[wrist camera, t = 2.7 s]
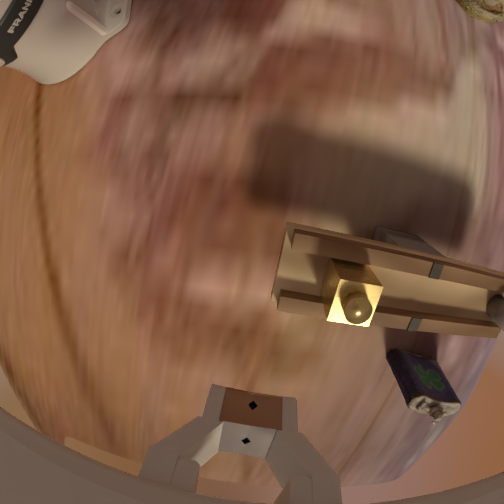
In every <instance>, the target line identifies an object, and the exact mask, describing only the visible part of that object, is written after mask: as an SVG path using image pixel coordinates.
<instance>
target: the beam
mask: <svg viewBox="0 0 504 504" xmlns="http://www.w3.org/2000/svg"><path fill="white" fill-rule="evenodd" d="M330 257H331V258H336V259H341V260H346V261H351V262H356V263H361V264H366V265H369V267H370V268H371V269H372V271H373V272H374V274H375V275H376V277H377V278H378V280H379V281H380V282H381V284H382V285H383V290H382V293H381V295H380V298H379V301H378V303H377V306H376V309H375V311H374V314H373V316H372V319H371V321H370V324H369V325H373V326H381V327H389V328H397V329H405V330H407V331H414V332H417V331H423V332H432V333H442V334H453V335H464V336H476V337H490V338H497V336H498V334H499V332H500V330H501V329H502V330H503V331H504V273H503V272H500V271H496V270H492V269H489V268H485V267H481V266H477V265H474V264H470V263H466V262H462V261H458V260H454V259H450V258H447V257H445V256H444V255H442V254H441V253H440V252H438V251H437V250H436V249H434V248H433V247H432V246H430V245H429V244H428V243H426V242H425V241H424V240H422V239H421V238H419V237H418V236H416V235H412V234H408V233H404V232H400V231H396V230H392V229H388V228H384V227H380V226H376V230H375V233H374V237H373V240H371V239H366V238H362V237H357V236H353V235H348V234H343V233H339V232H334V231H329V230H324V229H320V228H315V227H310V226H305V225H300V224H295V223H290V222H287V223H286V228H285V233H284V237H283V242H282V247H281V251H280V256H279V261H278V265H277V270H276V274H275V279H274V283H273V288H272V292H271V302H277V310H278V311H283V312H289V313H295V314H301V315H307V316H313V317H319V318H325V319H326V315H325V311H324V307H323V303H322V299H321V295H320V290H321V287H322V283H323V280H324V276H325V273H326V269H327V266H328V262H329V258H330Z"/></svg>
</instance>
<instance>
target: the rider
mask: <svg viewBox="0 0 504 504" xmlns="http://www.w3.org/2000/svg"><path fill="white" fill-rule="evenodd" d="M382 290H383V285H382V284H381V282H380V281H379V280H378V278H377V277H376V275H375V274H374V272H373V271H372V269H371V268H370V267H369V265H366V264H361V263H356V262H351V261H346V260H341V259H336V258H331V257H330V258H329V262H328V266H327V269H326V273H325V276H324V280H323V283H322V287H321V290H320V295H321V299H322V303H323V307H324V311H325V315H326V319H327V321H333V322H340V323H347V324H354V325H361V326H369V324H370V321H371V319H372V316H373V314H374V311H375V309H376V306H377V303H378V301H379V298H380V295H381V293H382Z"/></svg>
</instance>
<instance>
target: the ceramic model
mask: <svg viewBox="0 0 504 504" xmlns="http://www.w3.org/2000/svg"><path fill="white" fill-rule="evenodd" d="M456 1H457V3H458V4H459V5H460V6H461V8H462V9H463V10H464V11H465V12H466V13H468V14H469V15H470V16H472V17H474V18H477V19H479V20H482V21H485V22H496V21H497V22H499V21H502V20H504V13H503V11H504V7H503V4H504V0H456Z"/></svg>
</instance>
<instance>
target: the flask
mask: <svg viewBox="0 0 504 504" xmlns="http://www.w3.org/2000/svg"><path fill="white" fill-rule="evenodd" d="M386 359H387V361H388V363H389V365H390V367H391V369H392V372H393V374H394V376H395V378H396V380H397V382H398V385H399V387H400V389H401V392H402V394H403V396H404V398H405V401H406V404H407V406H408V408H410V409H412V410H414V411H416V412H419V413H422V414H426V415H428V416H429V417H434V419H435V420H436V421H438V420H441V419H442V418H443V417H444V416H446V415H451V414H453V413H455V412H456V411H457V410H458V409H459V408H460V406H461V402H460V400H459V399H458V397H457V396H456V394H455V392H454V390H453V388H452V387H451V385H450V383H449V382H448V380H447V379H446V377H445V375H444V373H443V371H442V369H441V367H440V366H439V364H438V362H437V361H435V360H434V359H432V358H430V359H429V358H425V357H424V356H422V355H419V354H417V355H413V354H412V352H410V353H408V352H407V351H406V350H403V349H401V348H394V349H390V351H389V352H388V354H387V356H386ZM436 423H438V422H435V421H432V424H433V425H434V424H436Z"/></svg>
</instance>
